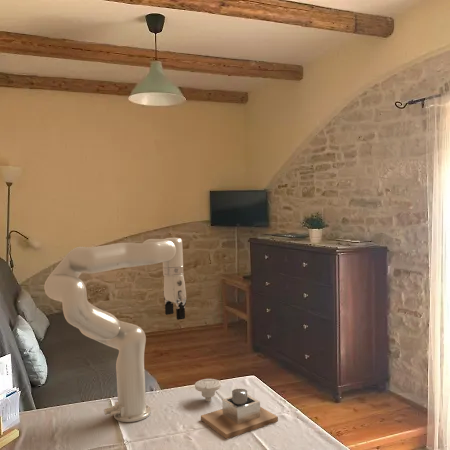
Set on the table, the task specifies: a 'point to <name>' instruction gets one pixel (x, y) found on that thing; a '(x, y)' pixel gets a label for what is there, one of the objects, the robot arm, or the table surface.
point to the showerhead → (208, 387)
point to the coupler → (239, 397)
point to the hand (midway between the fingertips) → (175, 316)
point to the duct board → (238, 417)
